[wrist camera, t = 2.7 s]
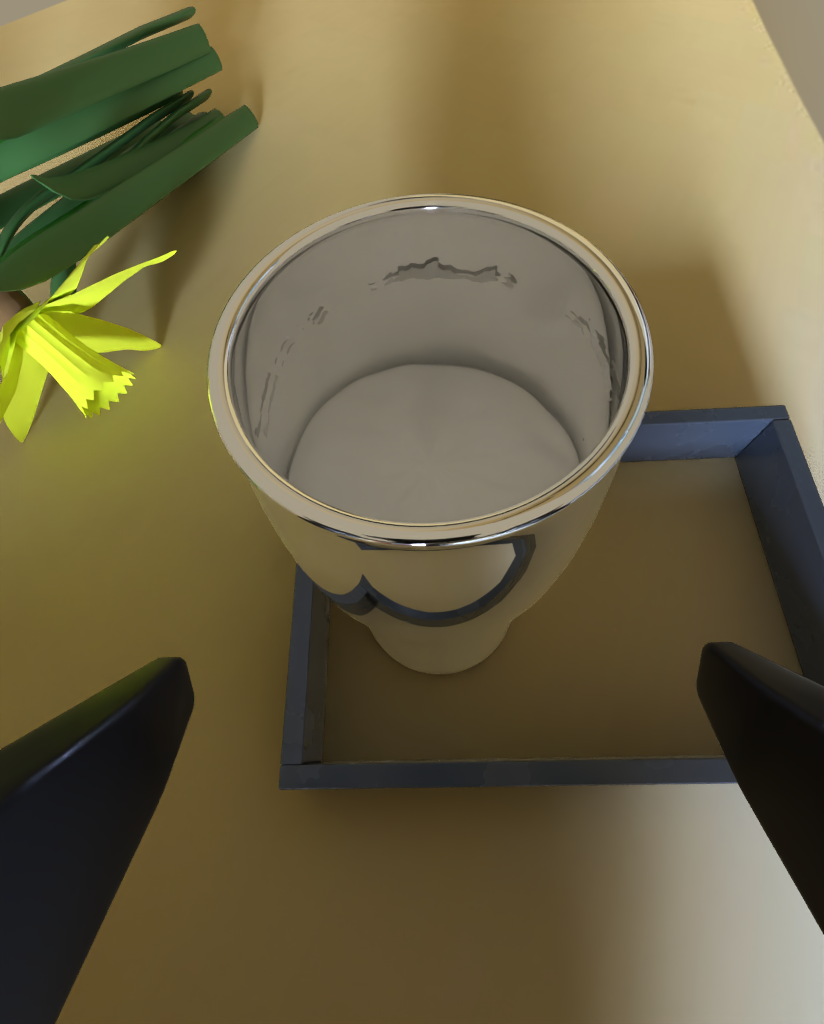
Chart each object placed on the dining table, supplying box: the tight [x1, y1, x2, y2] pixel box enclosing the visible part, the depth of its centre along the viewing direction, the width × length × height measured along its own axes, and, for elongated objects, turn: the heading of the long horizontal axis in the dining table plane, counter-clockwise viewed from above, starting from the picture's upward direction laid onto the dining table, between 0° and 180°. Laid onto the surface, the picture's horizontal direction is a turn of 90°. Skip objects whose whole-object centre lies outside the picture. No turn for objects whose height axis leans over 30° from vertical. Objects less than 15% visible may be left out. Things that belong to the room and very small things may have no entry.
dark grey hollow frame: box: [279, 405, 824, 790], centre depth 20 cm, size 13×19×3 cm
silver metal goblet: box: [207, 194, 654, 674], centre depth 14 cm, size 7×7×15 cm
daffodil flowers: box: [0, 7, 258, 442], centre depth 23 cm, size 17×15×35 cm
